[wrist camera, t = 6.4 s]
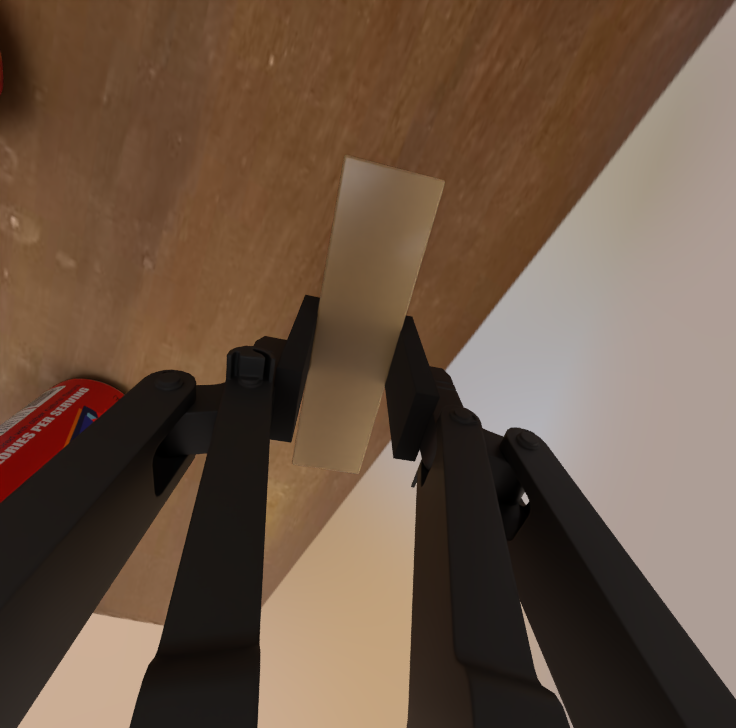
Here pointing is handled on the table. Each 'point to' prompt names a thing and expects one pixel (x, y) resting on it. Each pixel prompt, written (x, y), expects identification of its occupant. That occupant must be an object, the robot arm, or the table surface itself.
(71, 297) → the table surface
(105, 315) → the table surface
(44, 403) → the soda can
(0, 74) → the apple
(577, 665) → the robot arm
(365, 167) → the birch block
